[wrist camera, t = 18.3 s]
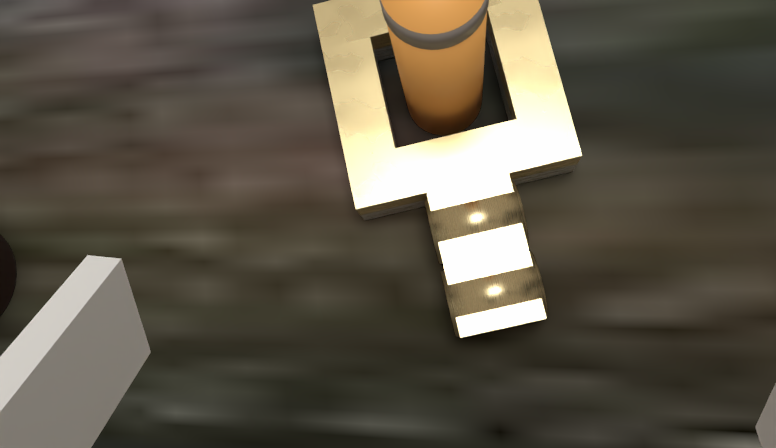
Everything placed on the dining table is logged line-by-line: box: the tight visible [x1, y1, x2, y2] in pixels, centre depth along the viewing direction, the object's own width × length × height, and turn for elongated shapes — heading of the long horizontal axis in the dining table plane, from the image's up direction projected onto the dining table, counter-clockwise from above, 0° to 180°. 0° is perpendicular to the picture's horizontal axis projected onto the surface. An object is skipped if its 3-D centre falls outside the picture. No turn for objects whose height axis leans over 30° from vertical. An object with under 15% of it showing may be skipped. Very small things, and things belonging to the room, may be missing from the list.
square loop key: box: [313, 0, 582, 338], centre depth 35 cm, size 11×25×3 cm, turn 12°
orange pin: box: [379, 0, 489, 135], centre depth 31 cm, size 4×4×12 cm
